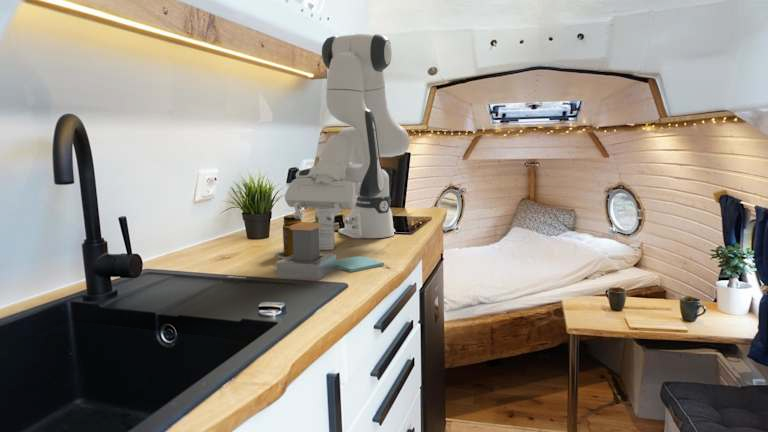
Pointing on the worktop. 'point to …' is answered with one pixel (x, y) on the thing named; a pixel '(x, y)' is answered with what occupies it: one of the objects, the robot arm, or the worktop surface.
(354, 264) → the mat
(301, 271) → the collar
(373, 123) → the robot arm
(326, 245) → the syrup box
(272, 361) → the worktop surface
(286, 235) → the condiment
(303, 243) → the grey lidded canister
